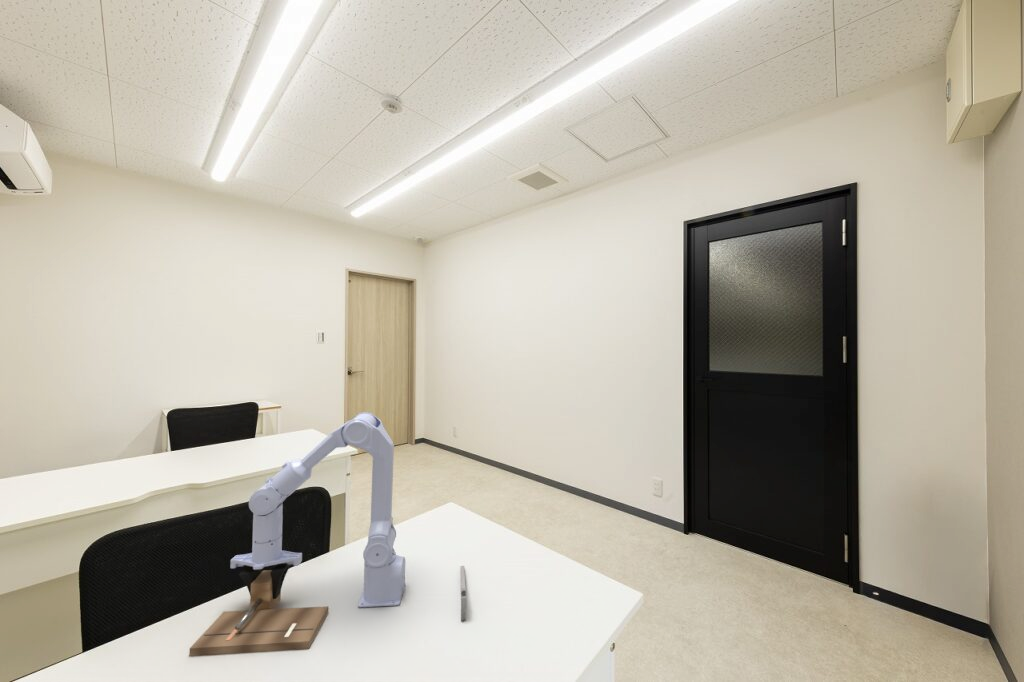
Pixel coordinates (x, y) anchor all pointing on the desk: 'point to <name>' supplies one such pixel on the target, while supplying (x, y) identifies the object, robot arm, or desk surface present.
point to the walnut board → (261, 631)
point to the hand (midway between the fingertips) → (265, 596)
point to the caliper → (463, 595)
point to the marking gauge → (260, 596)
